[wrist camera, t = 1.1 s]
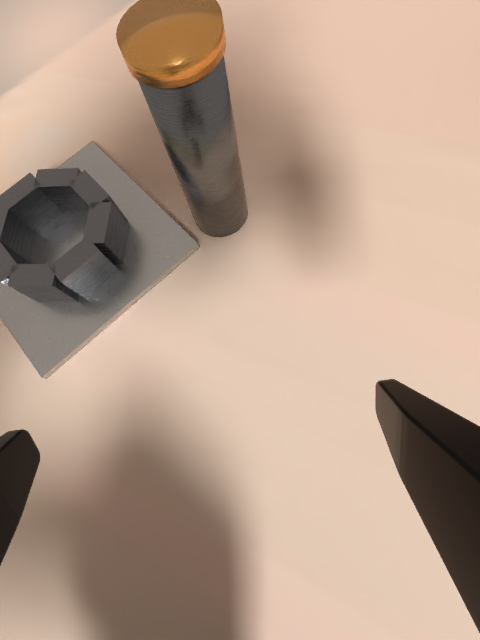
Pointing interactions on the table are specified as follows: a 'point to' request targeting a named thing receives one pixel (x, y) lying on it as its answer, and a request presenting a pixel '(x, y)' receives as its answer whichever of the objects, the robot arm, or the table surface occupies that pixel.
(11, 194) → the rosette collar
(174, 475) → the table surface
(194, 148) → the copper capped metal cylinder
